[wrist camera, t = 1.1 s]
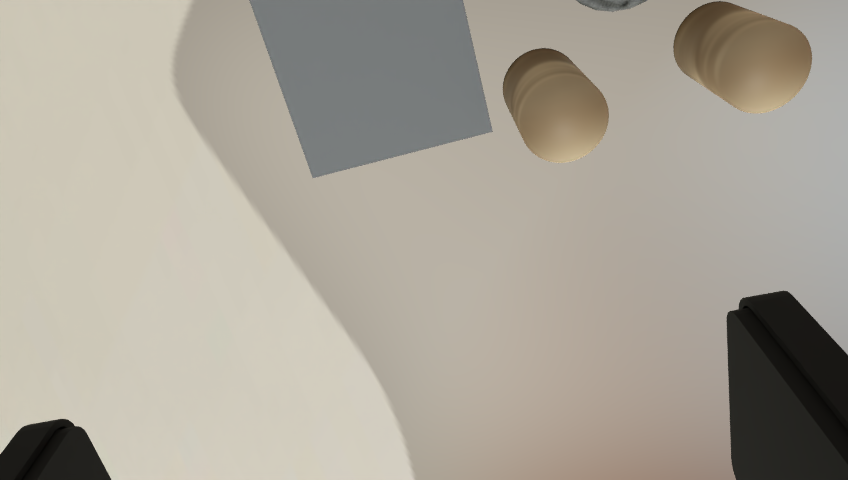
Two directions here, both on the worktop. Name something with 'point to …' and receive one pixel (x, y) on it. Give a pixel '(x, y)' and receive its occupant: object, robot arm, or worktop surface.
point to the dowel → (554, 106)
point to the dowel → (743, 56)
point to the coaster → (373, 76)
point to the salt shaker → (610, 4)
